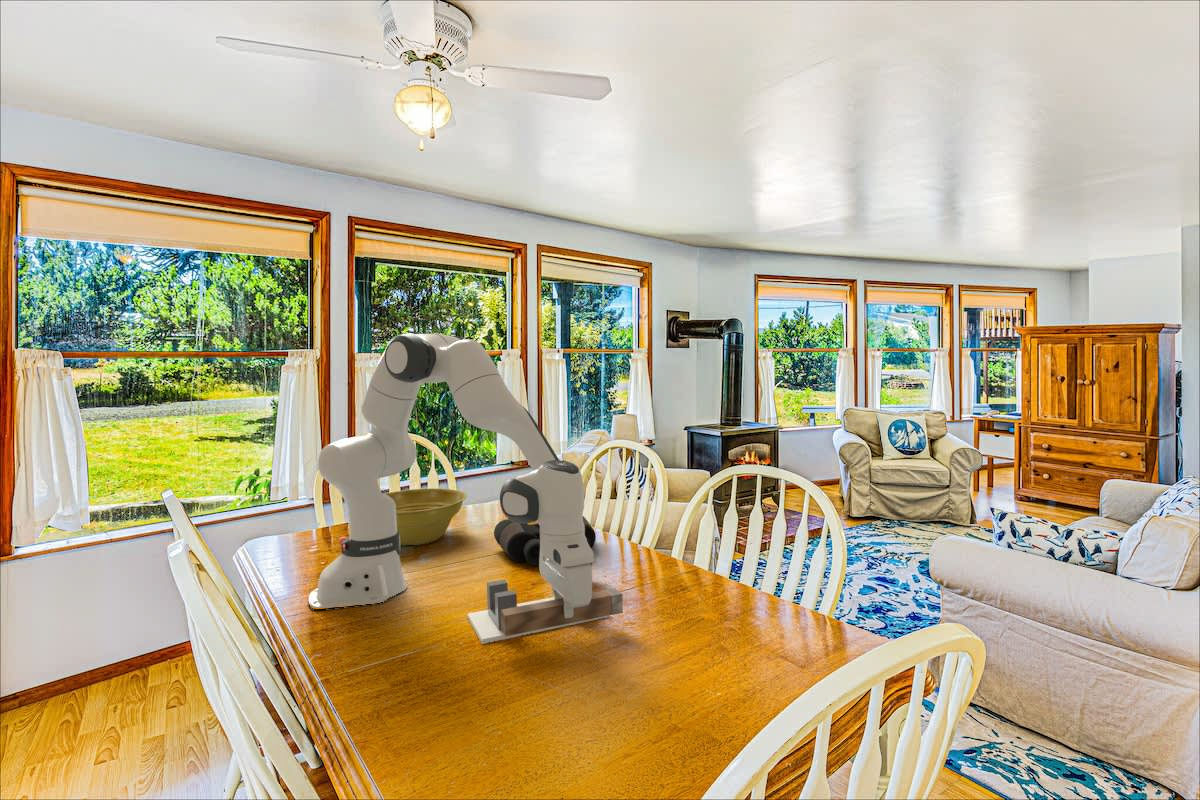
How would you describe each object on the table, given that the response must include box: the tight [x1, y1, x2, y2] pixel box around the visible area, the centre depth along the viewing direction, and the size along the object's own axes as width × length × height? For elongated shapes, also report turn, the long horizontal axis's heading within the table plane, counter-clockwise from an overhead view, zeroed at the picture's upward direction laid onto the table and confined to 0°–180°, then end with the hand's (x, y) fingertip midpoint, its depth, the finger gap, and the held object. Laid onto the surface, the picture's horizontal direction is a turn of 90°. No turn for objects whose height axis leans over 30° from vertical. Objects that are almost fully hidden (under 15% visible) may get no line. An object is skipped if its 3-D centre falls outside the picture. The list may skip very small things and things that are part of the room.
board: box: [467, 579, 611, 645], centre depth 133 cm, size 28×14×8 cm, turn 114°
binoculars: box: [493, 515, 597, 566], centre depth 177 cm, size 29×20×10 cm
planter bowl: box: [384, 487, 468, 546], centre depth 196 cm, size 32×32×13 cm
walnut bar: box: [501, 587, 624, 636], centre depth 121 cm, size 24×3×4 cm, turn 114°
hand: (563, 612), depth 121 cm, fingers closed on walnut bar, 3 cm apart
